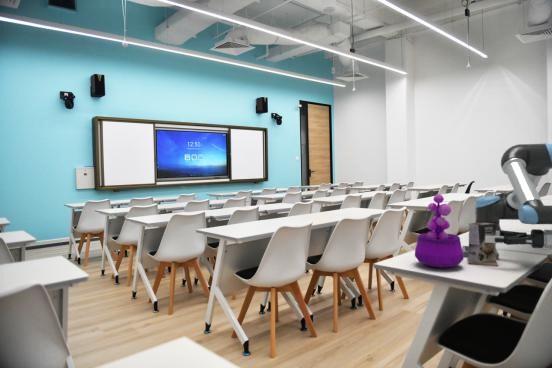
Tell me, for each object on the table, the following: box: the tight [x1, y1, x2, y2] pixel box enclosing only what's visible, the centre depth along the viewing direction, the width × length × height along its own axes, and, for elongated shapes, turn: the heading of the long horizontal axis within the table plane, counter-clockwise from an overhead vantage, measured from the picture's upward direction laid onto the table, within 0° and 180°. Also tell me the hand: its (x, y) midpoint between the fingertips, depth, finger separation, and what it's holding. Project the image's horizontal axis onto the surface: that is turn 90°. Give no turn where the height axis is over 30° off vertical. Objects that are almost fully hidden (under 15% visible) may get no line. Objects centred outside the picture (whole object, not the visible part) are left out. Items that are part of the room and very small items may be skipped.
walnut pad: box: [466, 257, 499, 267], centre depth 170 cm, size 11×11×1 cm
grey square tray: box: [461, 245, 500, 261], centre depth 183 cm, size 14×14×3 cm
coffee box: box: [468, 222, 497, 263], centre depth 170 cm, size 9×6×16 cm
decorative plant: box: [414, 193, 465, 269], centre depth 165 cm, size 19×18×30 cm
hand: (483, 236), depth 169 cm, fingers open, 13 cm apart
